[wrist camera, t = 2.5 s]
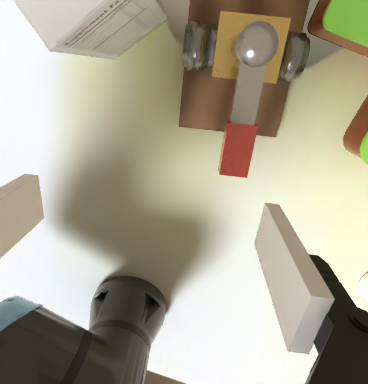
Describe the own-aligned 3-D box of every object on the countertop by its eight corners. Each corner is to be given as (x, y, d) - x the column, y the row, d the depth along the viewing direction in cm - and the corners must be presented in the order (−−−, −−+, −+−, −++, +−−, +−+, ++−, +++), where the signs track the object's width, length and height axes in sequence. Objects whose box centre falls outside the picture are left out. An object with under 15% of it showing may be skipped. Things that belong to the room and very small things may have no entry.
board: (179, 124, 39) (179, 126, 38) (195, -48, 31) (194, -54, 29) (273, 134, 39) (275, 137, 37) (314, -36, 30) (319, -41, 29)
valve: (183, 73, 35) (178, 73, 26) (188, 20, 33) (183, 0, 24) (287, 84, 35) (317, 88, 26) (300, 32, 32) (338, 17, 23)
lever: (238, 22, 24) (241, 18, 22) (277, 26, 24) (283, 23, 22) (215, 168, 30) (216, 174, 28) (247, 172, 30) (249, 177, 28)
